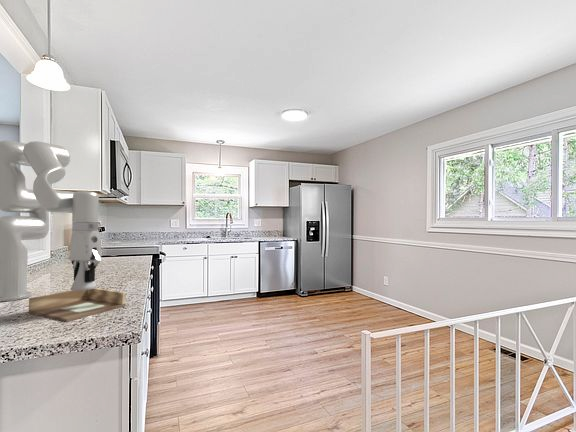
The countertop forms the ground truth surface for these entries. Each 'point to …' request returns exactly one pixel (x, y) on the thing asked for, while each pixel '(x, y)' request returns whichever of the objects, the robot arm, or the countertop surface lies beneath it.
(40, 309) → the tray
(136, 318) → the countertop surface
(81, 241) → the robot arm
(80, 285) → the flask
